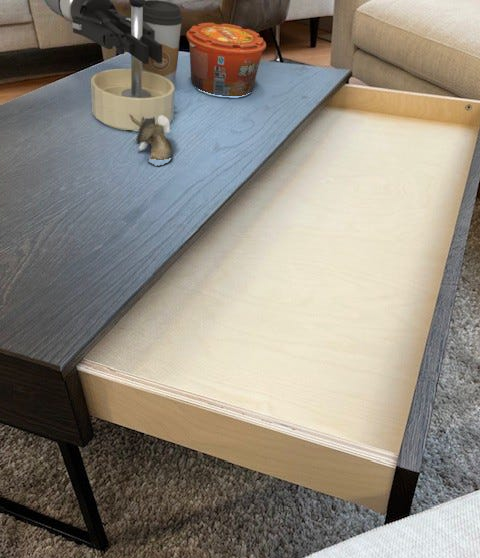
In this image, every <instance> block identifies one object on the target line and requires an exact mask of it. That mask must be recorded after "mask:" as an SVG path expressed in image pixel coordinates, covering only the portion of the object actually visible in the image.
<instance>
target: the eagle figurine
mask: <svg viewBox="0 0 480 558" xmlns="http://www.w3.org/2000/svg"><path fill="white" fill-rule="evenodd" d="M129 117H130V118H131V120H132V121H133V122H134V123H135V124H136V125H138V126H139V127H140V128H139V130H138V131H137V135H136V138H135V140H136V145H139V144H140V145H139V147H138V150H139V149H144V150H146V148H147V147H148V146H149V145H150V146H151V149H150V154H149V156H148V158H150V159H156V160H164V159H169V158H172V157H174V152H173V145H172V142H171V141H170V140H169V138H167V137H166V135H165V134H169V133H170V131H171V122H170V123H169V120H168V119H167V117H165V116H163V115H159V116H158V119H157V124H156V125H155V119H154V117H153V118H150V119H148V118H146V119H145V118H144V117H142V119H141V123H140V122H138V121H137V120H136V119H134V117H133V116H132V115H129ZM172 159H173V158H172Z"/></svg>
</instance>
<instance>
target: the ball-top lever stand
mask: <svg viewBox="0 0 480 558" xmlns="http://www.w3.org/2000/svg"><path fill="white" fill-rule="evenodd" d="M145 1H146V0H128V2H129V4H130V8H131V10H130V14H131V15H130V18H131V35H132V36H134V37H135V38H137V39H138V40H140V41H141V42H142V20H143V6H144V4H145ZM130 59H131V60H130V61H131V62H130V64H131V65H130V66H131V67H130V69H131V89H126V90H123V91H122V93H121V96H125V97H133V98H151V93H149V92H148V91H145V90H142V62H141V61H140V60H138V59H137V58H135V57H134V56H133V55H131V54H130Z"/></svg>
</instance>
